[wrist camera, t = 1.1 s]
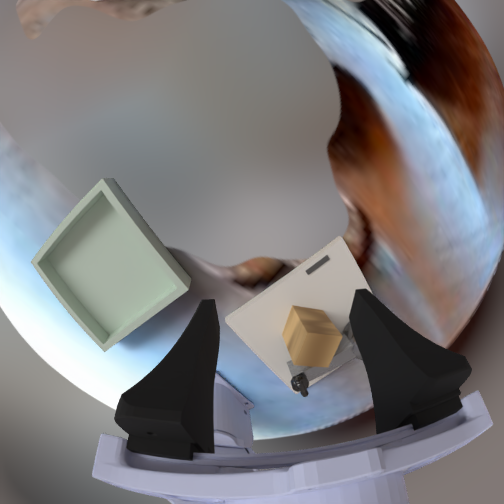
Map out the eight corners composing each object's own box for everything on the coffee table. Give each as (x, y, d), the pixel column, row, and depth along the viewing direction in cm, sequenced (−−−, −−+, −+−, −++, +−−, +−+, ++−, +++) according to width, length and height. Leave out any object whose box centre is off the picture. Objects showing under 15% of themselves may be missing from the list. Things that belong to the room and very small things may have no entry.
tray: (191, 279, 29) (188, 289, 26) (112, 339, 30) (104, 351, 27) (113, 178, 25) (102, 178, 22) (43, 254, 26) (30, 261, 23)
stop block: (322, 310, 31) (342, 336, 25) (311, 338, 32) (328, 367, 26) (292, 305, 30) (307, 332, 24) (281, 334, 31) (293, 365, 25)
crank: (368, 309, 31) (388, 328, 27) (374, 333, 33) (393, 353, 28) (278, 356, 32) (287, 382, 27) (291, 377, 33) (300, 403, 28)
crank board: (386, 325, 34) (390, 329, 33) (294, 389, 35) (296, 394, 34) (338, 236, 30) (342, 238, 29) (225, 317, 31) (225, 322, 30)
